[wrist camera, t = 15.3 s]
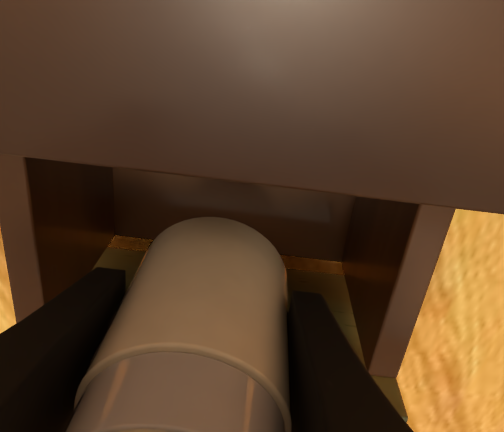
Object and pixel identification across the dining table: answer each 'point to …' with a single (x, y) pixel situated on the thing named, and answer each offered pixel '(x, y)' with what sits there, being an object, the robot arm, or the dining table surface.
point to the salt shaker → (195, 339)
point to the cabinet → (265, 92)
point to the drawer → (235, 208)
